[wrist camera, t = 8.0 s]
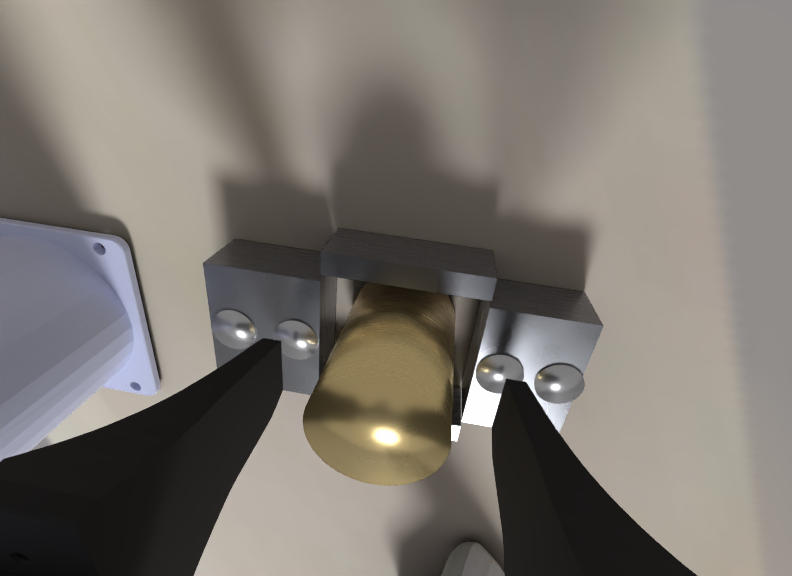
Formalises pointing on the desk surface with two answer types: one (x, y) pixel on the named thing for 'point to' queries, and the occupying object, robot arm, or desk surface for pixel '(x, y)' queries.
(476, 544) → the digital clock
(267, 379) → the robot arm
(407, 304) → the link pin
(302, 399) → the desk surface
